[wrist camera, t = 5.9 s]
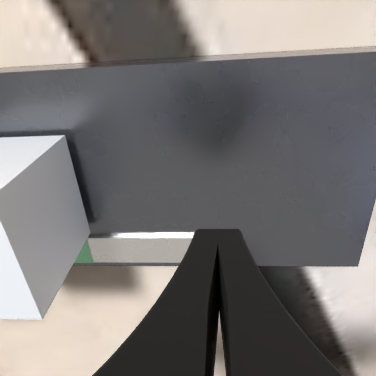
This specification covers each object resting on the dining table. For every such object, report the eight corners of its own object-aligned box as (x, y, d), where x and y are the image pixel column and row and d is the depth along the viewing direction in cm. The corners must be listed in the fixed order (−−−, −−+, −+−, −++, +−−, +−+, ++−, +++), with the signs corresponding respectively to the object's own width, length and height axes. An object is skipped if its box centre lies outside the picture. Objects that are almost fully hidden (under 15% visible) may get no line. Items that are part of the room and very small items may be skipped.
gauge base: (393, 45, 12) (596, 84, 6) (346, 246, 17) (428, 392, 11) (-160, 77, 15) (-464, 132, 8) (-63, 247, 19) (-203, 368, 13)
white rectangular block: (64, 135, 13) (-10, 197, 9) (99, 266, 17) (58, 357, 12) (-48, 139, 14) (-172, 200, 9) (9, 266, 17) (-62, 354, 13)
